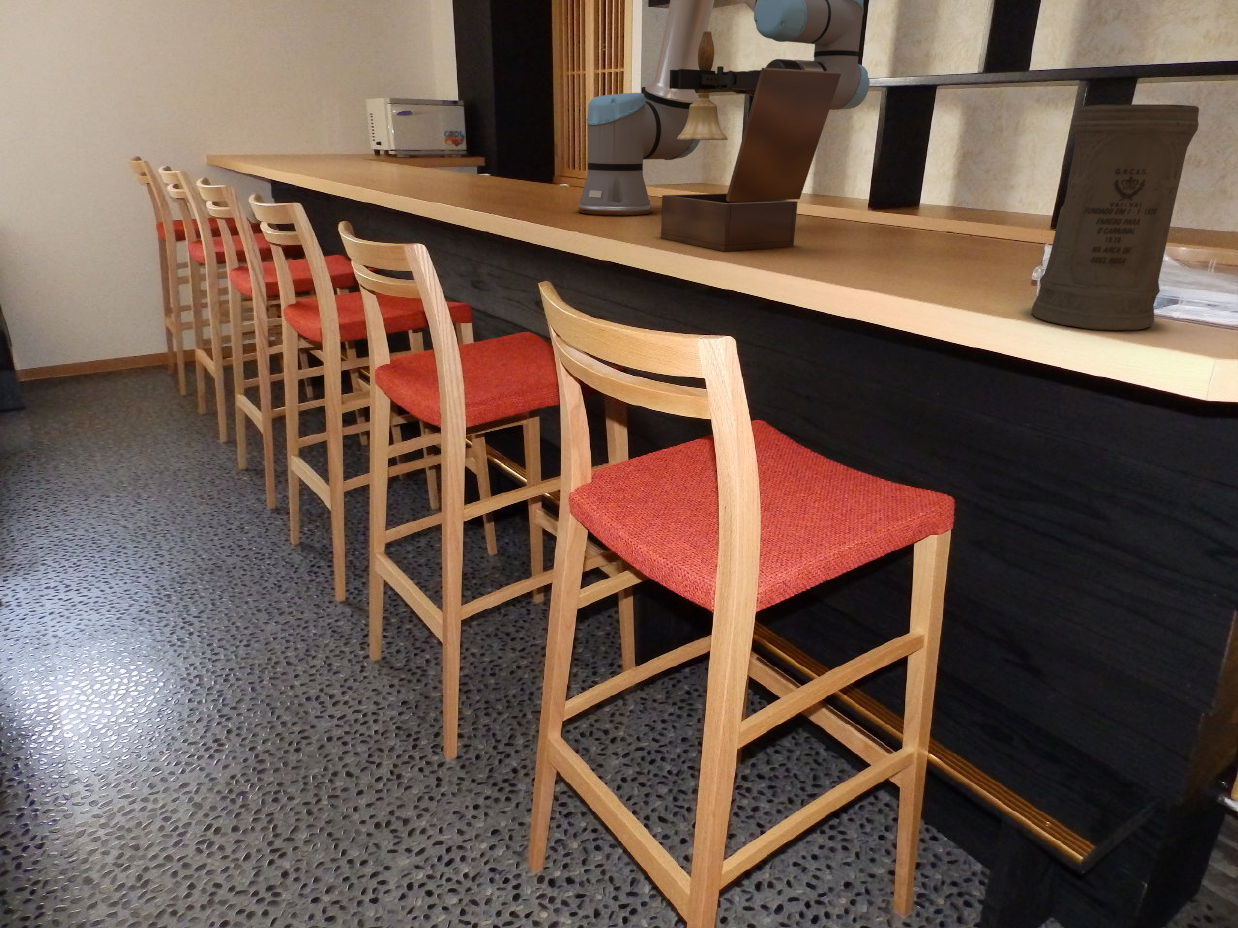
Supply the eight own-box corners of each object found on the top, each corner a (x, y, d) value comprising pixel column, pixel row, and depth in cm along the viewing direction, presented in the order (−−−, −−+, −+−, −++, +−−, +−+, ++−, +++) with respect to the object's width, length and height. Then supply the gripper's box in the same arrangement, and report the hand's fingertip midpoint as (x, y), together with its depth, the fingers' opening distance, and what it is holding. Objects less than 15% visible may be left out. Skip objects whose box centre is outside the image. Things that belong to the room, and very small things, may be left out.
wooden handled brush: (675, 139, 142) (679, 34, 136) (725, 140, 142) (730, 34, 136) (677, 140, 134) (681, 28, 128) (729, 140, 134) (735, 28, 128)
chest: (660, 238, 140) (662, 195, 137) (726, 234, 146) (729, 193, 143) (723, 251, 125) (726, 204, 123) (793, 246, 132) (797, 201, 129)
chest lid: (761, 67, 112) (765, 69, 111) (838, 72, 118) (841, 74, 117) (725, 199, 123) (728, 202, 123) (796, 197, 129) (799, 199, 129)
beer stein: (1174, 335, 77) (1230, 99, 71) (1048, 328, 79) (1092, 97, 73) (1115, 314, 91) (1157, 115, 85) (1010, 308, 93) (1043, 114, 87)
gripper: (818, 107, 138) (701, 104, 127) (761, 108, 150) (649, 105, 139) (823, 57, 136) (703, 49, 125) (764, 62, 147) (650, 55, 136)
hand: (675, 79), depth 132 cm, fingers closed on wooden handled brush, 2 cm apart
